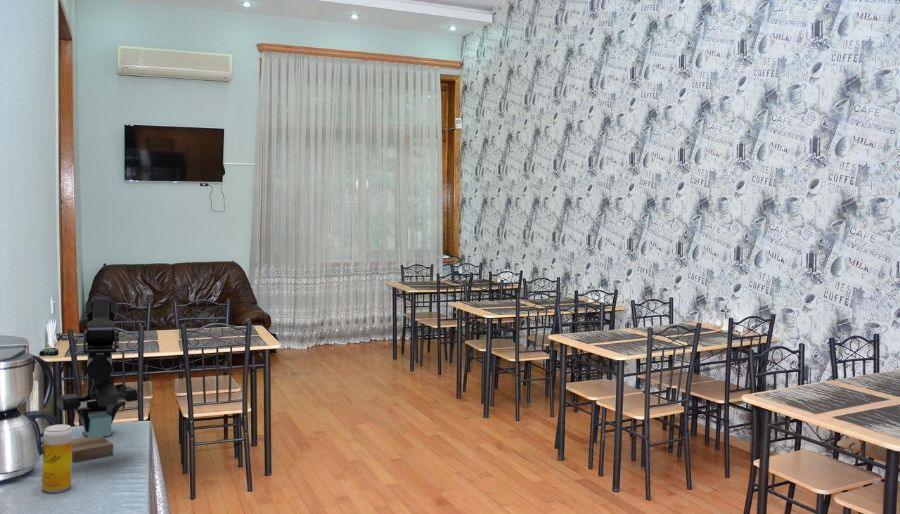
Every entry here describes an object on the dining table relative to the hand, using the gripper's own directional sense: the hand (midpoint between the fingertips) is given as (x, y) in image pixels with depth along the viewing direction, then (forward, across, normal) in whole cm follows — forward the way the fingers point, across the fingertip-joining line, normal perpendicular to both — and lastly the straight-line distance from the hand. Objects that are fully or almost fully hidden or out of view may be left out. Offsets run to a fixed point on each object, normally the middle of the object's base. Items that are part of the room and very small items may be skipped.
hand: (97, 430), depth 187 cm
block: (+1, 0, 0) cm, 1 cm away
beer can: (+10, -13, -11) cm, 19 cm away
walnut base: (+9, +1, +10) cm, 14 cm away
